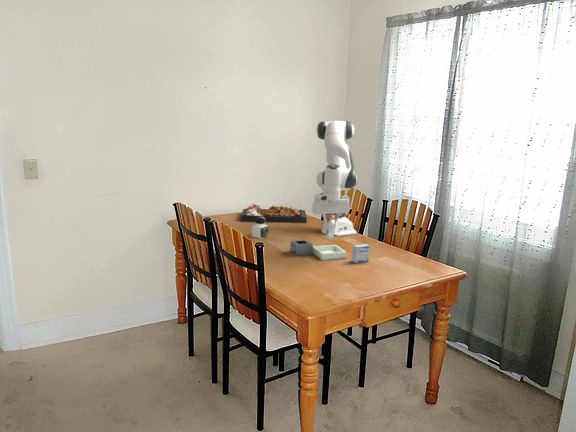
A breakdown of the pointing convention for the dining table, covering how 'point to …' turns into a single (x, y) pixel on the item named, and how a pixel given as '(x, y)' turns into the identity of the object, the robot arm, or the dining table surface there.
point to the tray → (329, 252)
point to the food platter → (274, 214)
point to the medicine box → (360, 253)
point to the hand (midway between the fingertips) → (330, 221)
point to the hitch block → (301, 247)
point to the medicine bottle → (260, 228)
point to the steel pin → (330, 226)
